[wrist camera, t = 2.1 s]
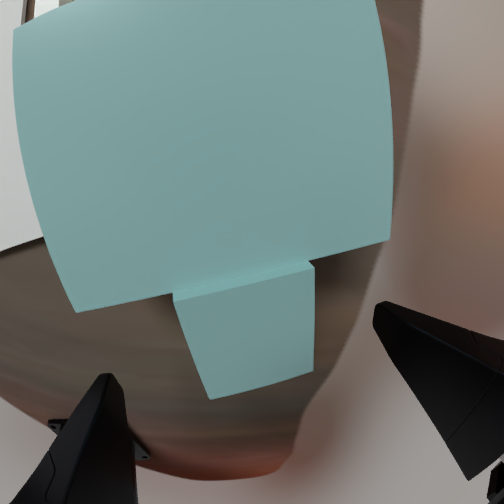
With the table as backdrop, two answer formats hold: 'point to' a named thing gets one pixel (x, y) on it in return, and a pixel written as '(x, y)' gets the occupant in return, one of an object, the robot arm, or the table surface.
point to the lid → (207, 162)
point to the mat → (12, 143)
